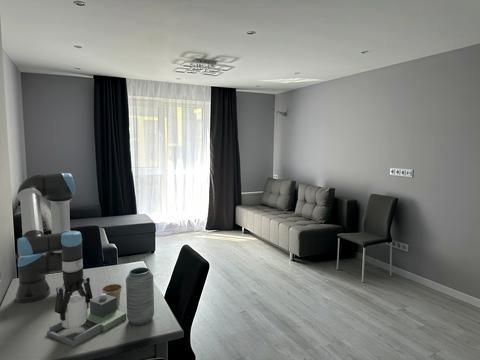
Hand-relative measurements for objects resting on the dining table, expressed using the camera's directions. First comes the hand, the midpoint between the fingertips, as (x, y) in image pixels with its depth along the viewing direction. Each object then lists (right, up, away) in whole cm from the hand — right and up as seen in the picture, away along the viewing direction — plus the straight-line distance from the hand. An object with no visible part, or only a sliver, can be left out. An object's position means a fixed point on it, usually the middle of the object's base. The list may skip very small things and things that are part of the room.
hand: (75, 321), depth 135 cm
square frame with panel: (+3, -4, +5) cm, 7 cm away
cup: (-1, 0, +1) cm, 2 cm away
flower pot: (+6, -2, +24) cm, 25 cm away
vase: (+24, -4, +10) cm, 27 cm away
